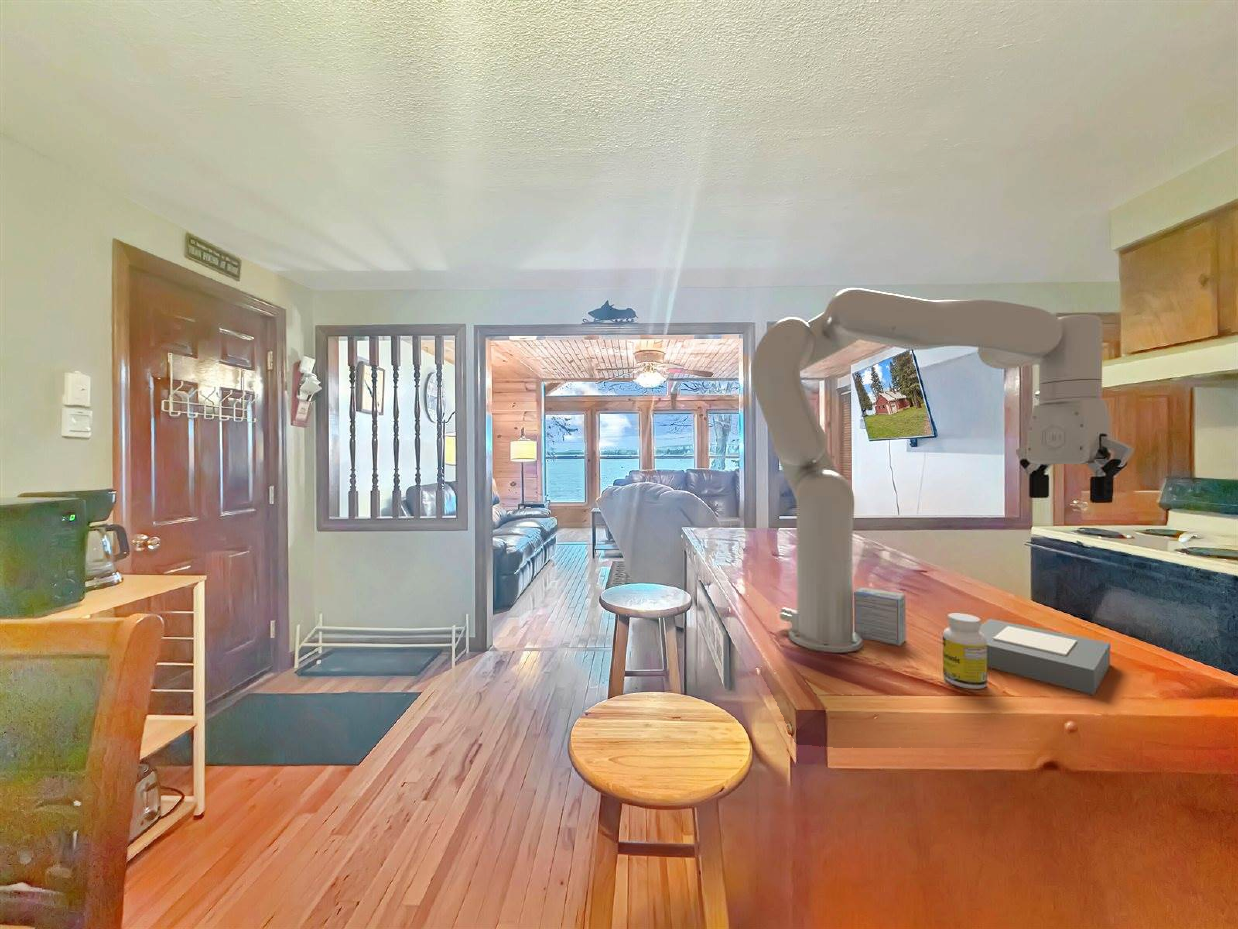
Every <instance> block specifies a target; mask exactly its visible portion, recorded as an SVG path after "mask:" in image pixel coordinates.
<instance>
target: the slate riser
mask: <svg viewBox="0 0 1238 929" xmlns="http://www.w3.org/2000/svg"><path fill="white" fill-rule="evenodd" d="M980 628H981V629H980V630H979V632H981V633H982V634H983V635H984V636H985V637H986V641H987V668H990V669H994V670H995V669H996V670H998V671H1002V672H1007V673H1010V674H1013V675H1017V676H1021V677H1025V678H1029V679H1032V680H1036V681H1040V682H1044V683H1048V684H1052V685H1055V686H1059V687H1063V688H1066V689H1071V690H1075V691H1078V692H1083V693H1086V694H1089V695H1092V696H1094V695H1096V692H1097V691H1098V689H1099V686H1100V685H1101V683H1102V680H1103V679H1104V678H1105V675H1106V674H1107V671H1108V669H1109V668H1110V666H1111V642H1108V641H1102V640H1098V639H1092V638H1087V637H1082V636H1077V635H1072V634H1067V633H1062V632H1057V631H1053V630H1047V629H1043V628H1037V627H1034V626H1028V625H1023V624H1017V623H1013V622H1008V621H1003V620H999V619H998V620H997V619H993V618H989V619H987V620H985V621H984V622H983V623H981V627H980Z"/></svg>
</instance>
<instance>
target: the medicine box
mask: <svg viewBox="0 0 1238 929" xmlns="http://www.w3.org/2000/svg"><path fill="white" fill-rule="evenodd" d="M906 619H907V616H906V595H905V593H900V592H894V591H888V590H883V589H882V590H880V589H877V588H876V589H874V588H868V587H860V588H857V589H856V590H855V591H854V592H853V631H854V632H856V633H857V634H859V635H860V636H861V638H862V639H867V640H871V641H876V642H881V643H885V644H890V645H894V646H898V647H901V646H902V645H903V643H904V642H905V641H906V639H907V627H906V626H907V623H906V621H907V620H906Z"/></svg>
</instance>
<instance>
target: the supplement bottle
mask: <svg viewBox="0 0 1238 929" xmlns="http://www.w3.org/2000/svg"><path fill="white" fill-rule="evenodd" d="M947 619H948V620H947V624H948V625H949V627H947V628H945V629H944V630H943V632H942V673H943V678H944V679H945V680H946V681H947V682H948V683H950V684H952V685H955V686H957V687H960V688H964V689H971V690H979V689H980V690H981V689H985V687H987V684H988V667H987V641H986V637H985V636H984V635H983V634H982V633H981V632H979V630H980V629H981V628H980V627H981V625H982V623H981V619H980V618H979V617H978V616H975V615H973V614H967V613H962V612H961V613H960V612H953V613H948V614H947Z"/></svg>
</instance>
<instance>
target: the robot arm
mask: <svg viewBox="0 0 1238 929" xmlns="http://www.w3.org/2000/svg"><path fill="white" fill-rule="evenodd" d="M1103 328H1104V327H1103V322H1102V319H1101V317H1099V316H1098V315H1095V314H1087V313H1086V314H1085V313H1084V314H1073V315H1066V316H1062V317H1056V315H1054V314H1053V313H1052V312H1049V311H1048V310H1046V309H1043V308H1040V307H1039V308H1038V307H1036V306H1035V307H1034V306H1031V305H1025V304H1018V303H1012V302H1008V301H1007V302H1006V301H1000V300H990V299H989V300H987V299H960V300H959V299H944V300H930V299H923V298H918V297H913V296H912V297H911V296H905V295H901V294H895V293H894V294H893V293H889V292H883V291H879V290H878V291H876V290H870V289H867V288H866V289H865V288H860V287H859V288H857V287H850V288H846V289H842V290H840V291H839V292H836V294H835V295H833V297H832V298H831V300H830V301H829V302H828V304H827V305H826V309H825V311H823V312H822V313H821V314H819V315H817V316H815V317H813V318H812V319H810V320H808V321H807V322H806V321H805V320H803V319H802V318H799V317H795V316H794V317H785V318H782V319H780V320H778V321H777V322H775V323H774V324H772V325H771V326H770V328H769V329H768V330H767V331H766V332H765V333H764V334H763V336H762V337H761V339H760V340H759V342H758V345H757V346H756V349H755V352H754V354H753V359H752V363H751V364H752V365H751V378H752V379H751V380H752V386H753V389H754V394H755V397H756V399H757V402H758V404H759V408H760V410H761V412H762V415H763V418H764V420H765V422H766V425H767V428H768V430H769V432H770V435H771V438H772V440H773V441H772V442H773V443H772V444H773V449H774V452H775V454H776V457H777V459H778V461H779V464H780V466H781V469H782V471H783V473H784V476H785V478H786V480H787V483H788V485H789V487H790V489H791V492H792V494H793V497H794V499H795V502H796V596H797V597H796V605H797V606H796V610H794V609H793V608H791V607H790V608H789V607H785V606H784V607H782V608H781V611H780V614H779V618H780V620H782V621H786V622H790V623H791V627H790V628H789V629H788V638H789V640H790V641H792V642H793V643H794V644H796V645H798V646H801V647H803V648H805V649H809V650H813V651H817V652H825V653H836V654H838V653H839V654H842V653H844V654H845V653H852V652H856V651H859V650H860V649H861V648H862V647H863V638H861V636H860V635H859V634H857V633H856V632H854V592H853V591H854V589H853V588H854V587H853V583H854V582H853V578H854V577H853V574H854V573H853V565H854V564H853V562H854V560H853V534H854V533H853V532H854V531H853V530H854V529H853V528H854V517H855V516H854V515H855V496H854V491H853V489H852V486H851V484H850V483H849V481H848V480H847V478H845V477H844V476H843V475H841V473H838V470H837V468H836V466H835V465H834V462H833V459H832V457H831V454H830V452H829V450H828V447H827V442H828V440H827V435H826V433H825V430H824V429H823V427H822V426H821V423H820V421H819V420H818V418H817V416H816V413H815V411H814V409H813V407H812V405H811V403H810V401H809V397H808V395H807V392H806V390H805V388H804V385H803V382H802V377H801V372H802V371H803V370H806V369H807V368H809V367H811V366H813V365H815V364H817V363H819V362H821V361H823V360H825V359H827V358H829V357H831V356H833V355H835V354H837V353H839V352H841V351H843V350H844V349H846V348H848V347H850V346H851V345H853V344H855V343H856V342H857V341H859V340H861V341H865V342H870V343H876V344H880V345H886V346H891V347H895V348H900V349H904V350H909V351H910V350H911V351H922V350H923V351H924V350H931V349H936V348H943V347H971V348H977V354H978V357H979V360H980V361H981V362H982V363H983V364H985V365H986V366H988V367H990V368H994V369H998V370H999V369H1000V370H1009V369H1015V368H1022V367H1027V366H1028V367H1029V366H1036V365H1038V391H1037V392H1035V394H1034V397H1035V399H1036V400H1038V404H1036V405H1034V406H1033V408H1032V412H1031V416H1030V421H1029V424H1028V431H1027V442H1026V444H1024V445H1022V446H1020V447H1019V448H1017V449H1016V450H1015V453H1016V456H1017V457H1018V459H1019V464H1020V466H1021V467H1022V468H1023V469H1024V473H1025V474H1026V475H1029V482H1028V483H1029V485H1028V491H1029V492H1028V496H1029V498H1031V499H1048V498H1049V497H1050V476H1049V474H1046V472H1047V471H1048V470H1049V469H1050V468H1051V467H1052V466H1053V465H1081V464H1082V465H1086V467H1087V468H1088V469H1089V470H1090V471H1091V472H1092V473H1093V474H1094V475H1095V476H1090V478H1089V502H1091V503H1092V504H1112V503H1113V497H1114V477H1115V478H1116V477H1118V476H1119V474H1120V472H1121V471H1122V470H1123V469H1125V467H1126V466H1127V465H1128V461H1129V460H1130V458H1131V457H1132V455H1133V454H1134V452H1135V447H1133V446H1131V445H1129V444H1127V443H1124V442H1122V441H1119V440H1117V439H1115V438H1113V434H1112V424H1111V417H1110V412H1109V408H1108V406H1107V405H1108V404H1107V401H1106V400H1104V399H1103ZM1113 452H1114V454H1113V458H1112V453H1113Z"/></svg>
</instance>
